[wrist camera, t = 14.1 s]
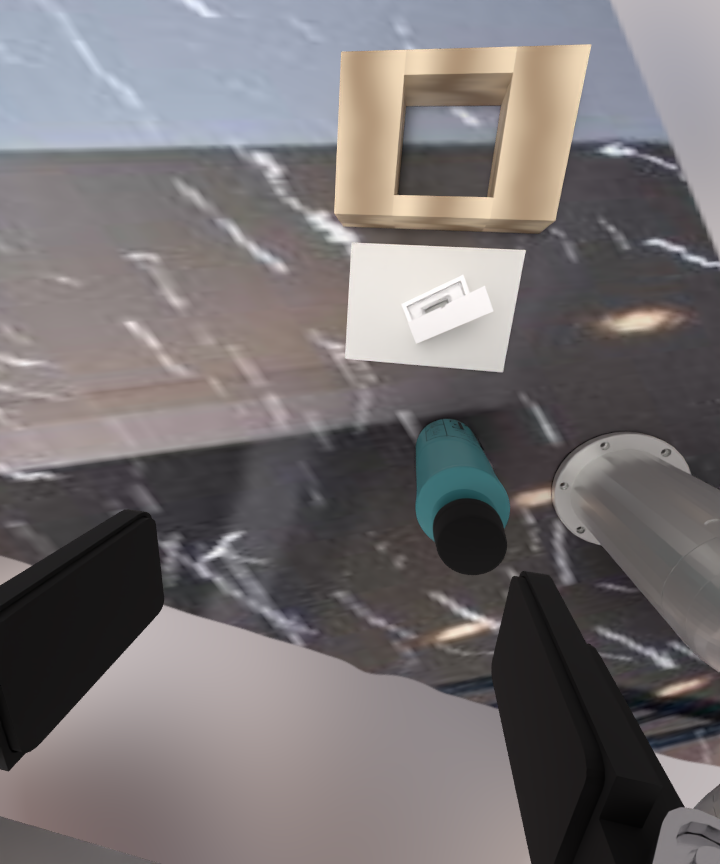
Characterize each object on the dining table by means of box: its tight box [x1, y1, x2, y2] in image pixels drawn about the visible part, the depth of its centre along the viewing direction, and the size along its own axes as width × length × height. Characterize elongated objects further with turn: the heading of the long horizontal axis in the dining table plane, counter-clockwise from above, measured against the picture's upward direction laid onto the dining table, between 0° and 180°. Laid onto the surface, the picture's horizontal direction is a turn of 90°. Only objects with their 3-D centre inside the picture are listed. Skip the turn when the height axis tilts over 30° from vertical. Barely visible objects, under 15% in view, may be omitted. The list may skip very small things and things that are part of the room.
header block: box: [334, 45, 591, 234], centre depth 29 cm, size 18×11×4 cm, turn 86°
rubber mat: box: [345, 243, 526, 372], centre depth 35 cm, size 16×11×1 cm
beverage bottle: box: [414, 418, 510, 575], centre depth 29 cm, size 6×7×20 cm
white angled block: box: [401, 275, 493, 344], centre depth 31 cm, size 4×10×9 cm, turn 115°
